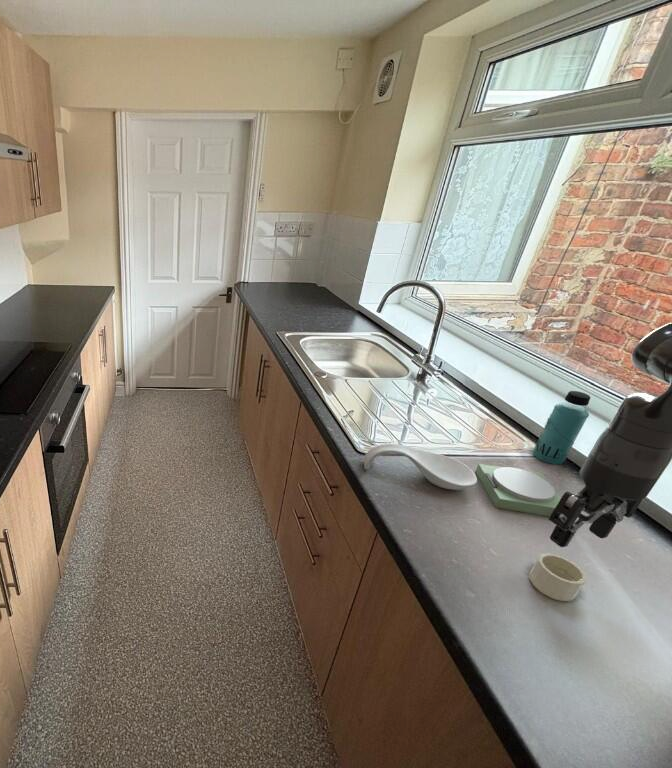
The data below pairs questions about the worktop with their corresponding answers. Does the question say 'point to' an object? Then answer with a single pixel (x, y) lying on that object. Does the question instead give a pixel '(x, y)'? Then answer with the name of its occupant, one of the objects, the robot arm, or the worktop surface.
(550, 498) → the scale
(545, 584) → the bowl
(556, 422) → the beverage bottle
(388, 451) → the spoon rest
